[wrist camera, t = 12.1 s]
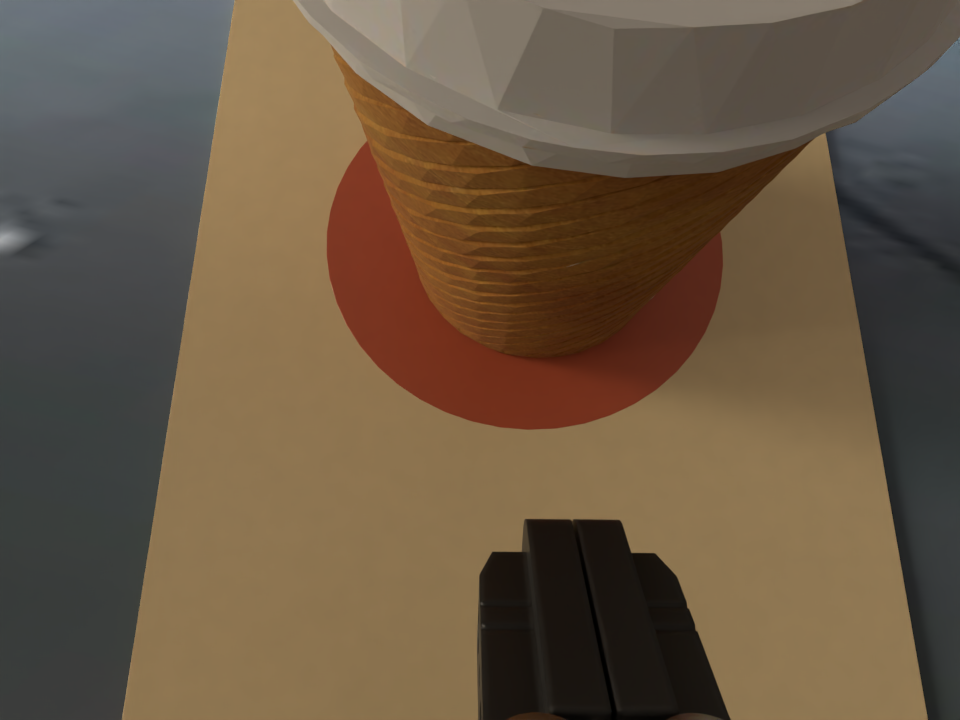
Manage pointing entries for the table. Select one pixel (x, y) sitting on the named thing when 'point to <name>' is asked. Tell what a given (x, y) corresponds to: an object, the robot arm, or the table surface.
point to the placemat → (494, 443)
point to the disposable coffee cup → (599, 135)
